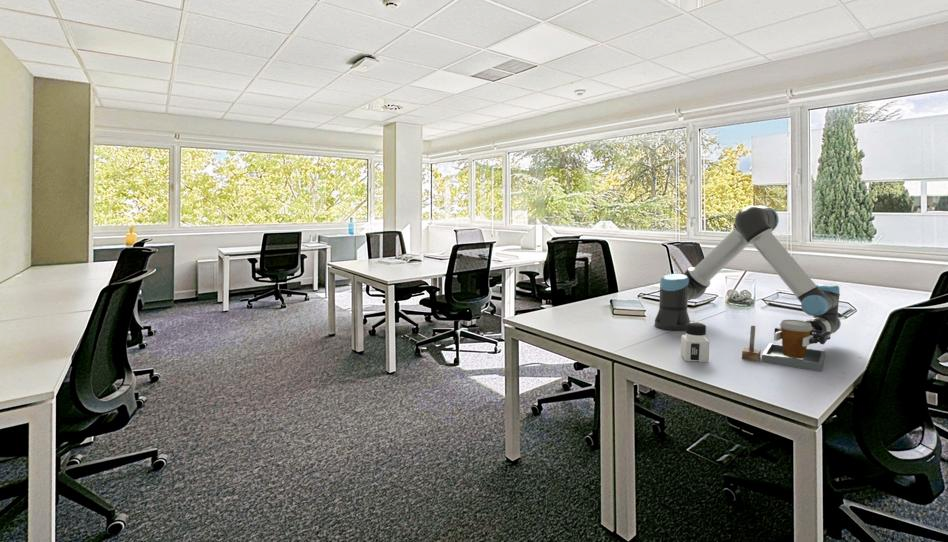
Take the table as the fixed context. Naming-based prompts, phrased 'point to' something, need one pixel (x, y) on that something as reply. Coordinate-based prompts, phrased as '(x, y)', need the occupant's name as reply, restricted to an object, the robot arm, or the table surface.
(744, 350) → the stand
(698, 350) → the container
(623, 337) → the table surface
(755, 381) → the table surface
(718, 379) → the table surface
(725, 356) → the table surface
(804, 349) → the disposable coffee cup
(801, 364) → the tray
